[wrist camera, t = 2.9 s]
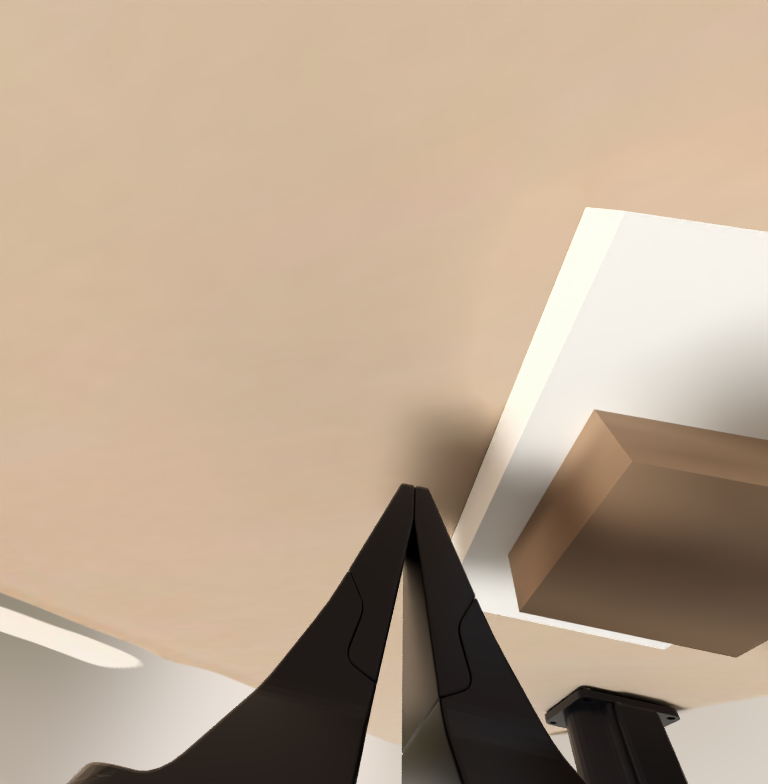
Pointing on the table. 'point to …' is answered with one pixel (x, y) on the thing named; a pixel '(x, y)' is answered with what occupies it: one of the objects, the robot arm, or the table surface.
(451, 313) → the table surface
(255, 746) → the robot arm
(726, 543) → the tile
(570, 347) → the plate
